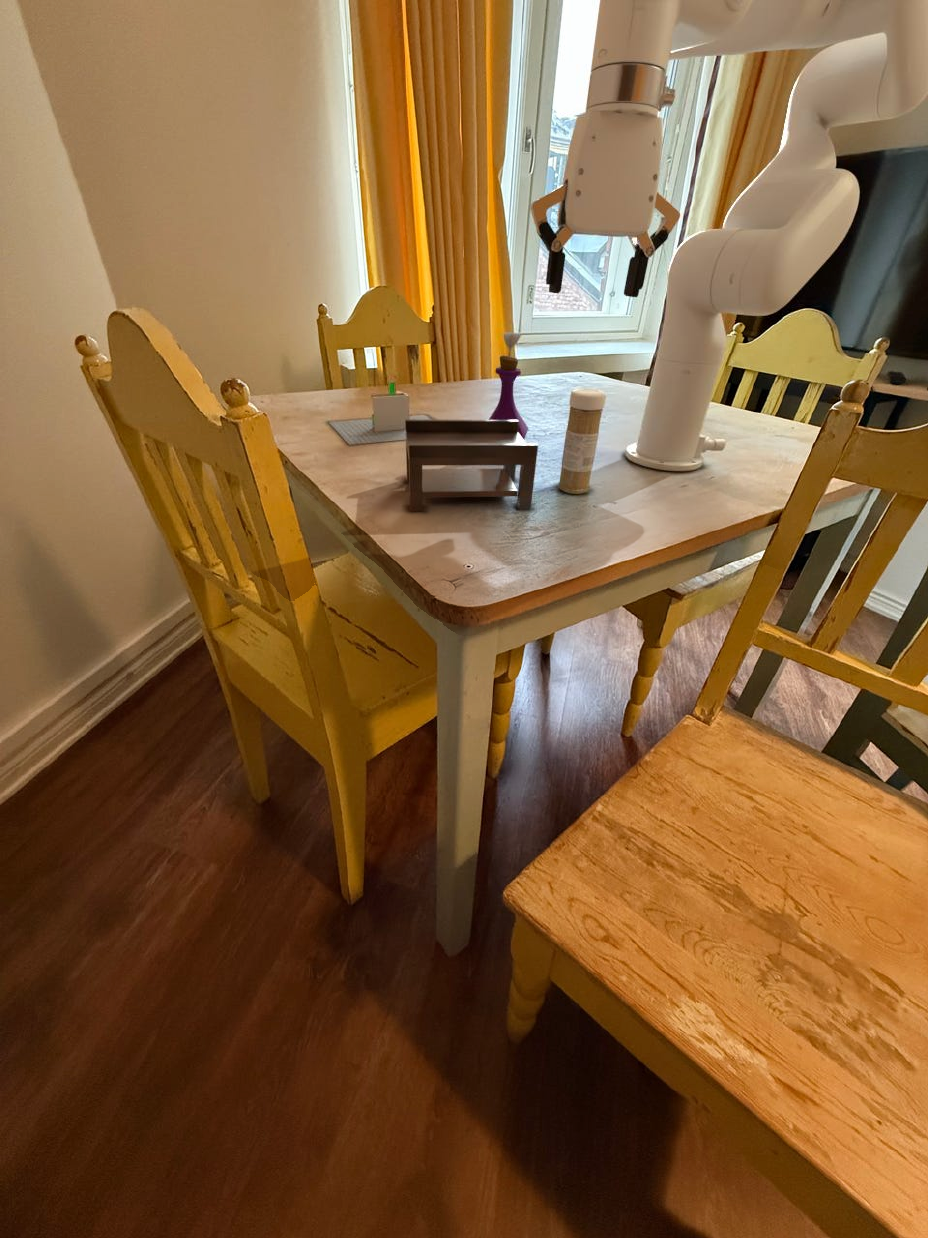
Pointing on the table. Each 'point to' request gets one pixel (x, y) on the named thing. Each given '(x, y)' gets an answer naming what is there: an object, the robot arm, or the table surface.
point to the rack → (468, 460)
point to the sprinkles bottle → (581, 439)
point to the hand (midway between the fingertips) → (592, 294)
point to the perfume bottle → (509, 386)
